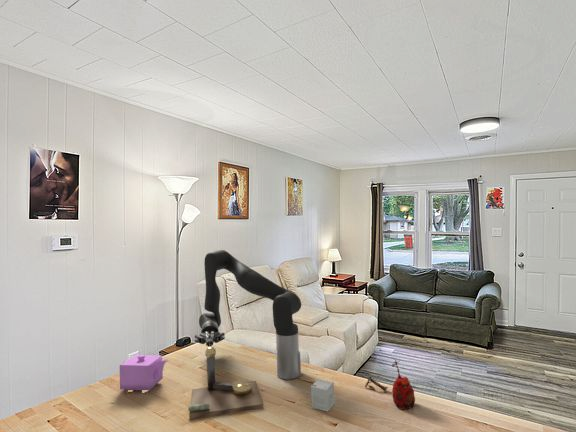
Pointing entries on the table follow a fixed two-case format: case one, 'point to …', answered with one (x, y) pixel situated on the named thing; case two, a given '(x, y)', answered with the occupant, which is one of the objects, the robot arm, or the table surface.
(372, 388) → the wooden post with brackets
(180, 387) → the table surface
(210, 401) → the walnut base
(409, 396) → the red rounded piece
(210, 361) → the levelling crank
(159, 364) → the teapot
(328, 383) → the skincare box
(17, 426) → the table surface
